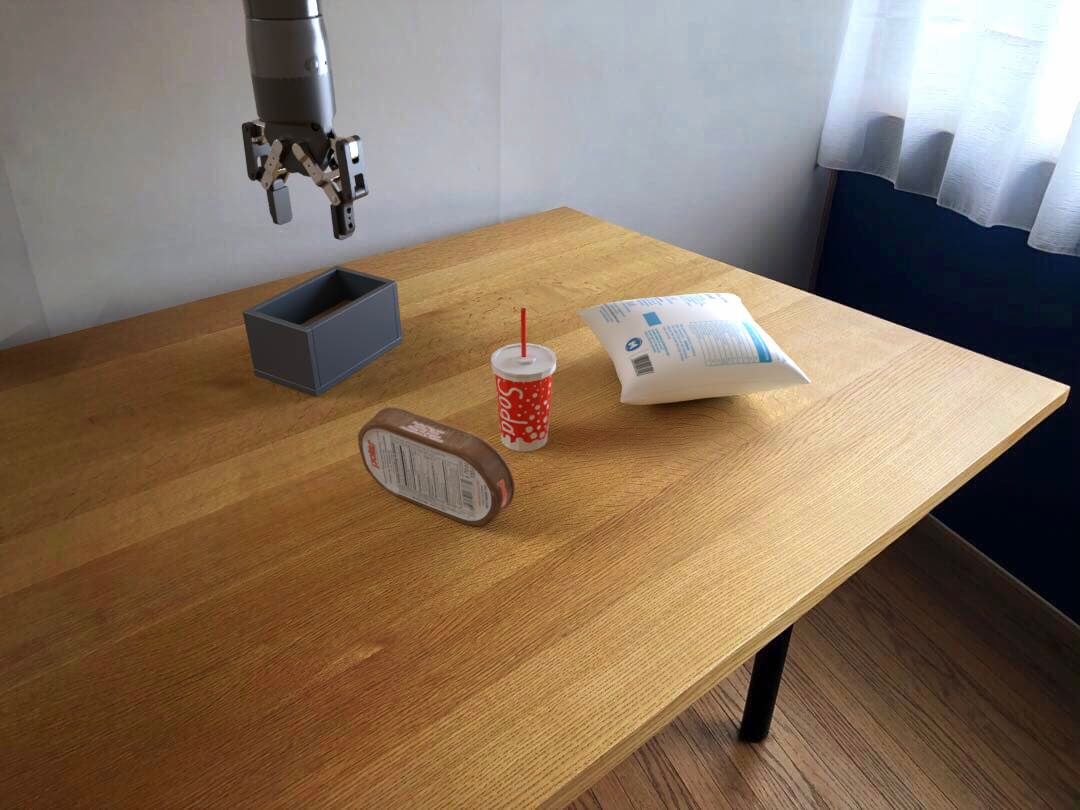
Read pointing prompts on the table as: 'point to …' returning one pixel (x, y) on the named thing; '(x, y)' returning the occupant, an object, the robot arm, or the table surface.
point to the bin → (323, 329)
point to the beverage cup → (523, 392)
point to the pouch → (689, 348)
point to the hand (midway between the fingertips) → (312, 229)
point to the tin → (436, 466)
